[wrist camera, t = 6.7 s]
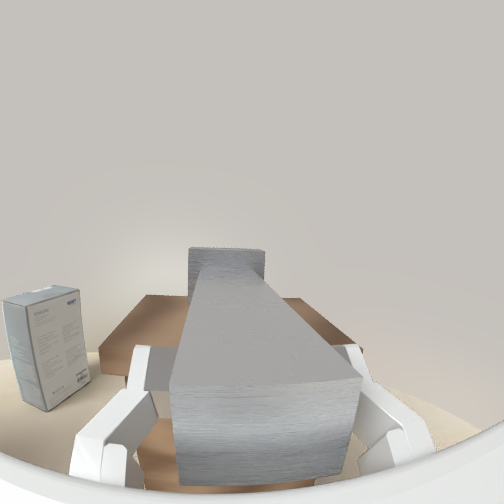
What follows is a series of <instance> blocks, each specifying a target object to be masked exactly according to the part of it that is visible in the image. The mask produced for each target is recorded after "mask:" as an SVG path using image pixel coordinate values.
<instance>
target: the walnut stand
mask: <svg viewBox="0 0 504 504" xmlns="http://www.w3.org/2000/svg"><path fill="white" fill-rule="evenodd" d="M282 299H283V300H284V301H285V302H286V303H287V304H288V305H289V306H290V307H291V308H292V309H293V310H294V311H295V312H296V313H297V314H298V315H299V316H301V317H302V318H303V319H304V320H305V321H306V322H307V323H308V324H309V325H310V326H311V327H312V328H313V329H314V330H315V331H316V332H317V333H318V334H319V335H320V336H321V337H322V338H323V339H324V340H325V341H326V342H327V343H328V344H329V345H346V344H356V343H355V342H354V341H352V340H351V339H350V338H349V337H348V336H346V335H345V334H344V333H343V332H341V331H340V330H339V329H338V328H336V327H335V326H334V325H333V324H331V323H330V322H329V321H328V320H326V319H325V318H324V317H322V316H321V315H320V314H319V313H318V312H316V311H315V310H314V309H313V308H311V307H310V306H309V305H308V304H307V303H305V302H304V301H303V300H302V299H300V298H282ZM189 307H190V304H188V296H164V295H146V296H145V297H144V298H143V299H142V300H141V301H140V302H139V303H138V305H137V306H136V307H135V308H134V309H133V310H132V311H131V312H130V313H129V314H128V315H127V317H126V318H125V319H124V320H123V321H122V322H121V323H120V324H119V325H118V326H117V327H116V329H115V330H114V331H113V332H112V333H111V334H110V335H109V336H108V338H107V339H106V340H105V341H104V342H103V343H102V344H101V345H100V347H99V357H100V364H101V372H102V374H110V375H119V376H125V383H126V388H127V382H128V376H129V371H130V366H131V360H132V355H133V350H134V348H135V346H136V345H148V346H159V347H173V348H179V344H180V340H181V336H182V333H183V329H184V325H185V322H186V318H187V314H188V311H189ZM359 347H360V346H359ZM360 350H361V352H362V353H363V349H362V348H361V347H360ZM158 419H159V420H158V421H157V423H156V424H155V425H154V427H153V428H152V429H151V431H150V432H149V434H148V435H147V436H146V438H145V439H144V440H143V442H142V443H141V444H140V446H139V447H138V448H137V454H138V458H139V463H140V467H141V468H142V470H143V471H144V484H145V488H146V490H153V491H163V492H176V493H196V494H236V493H256V492H269V491H279V490H288V489H296V488H303V487H310V486H313V485H314V481H315V479H308V480H301V481H293V482H285V483H275V484H263V485H247V486H187V485H180V483H179V476H178V469H177V461H176V453H175V445H174V436H173V426H172V419H166V418H158Z"/></svg>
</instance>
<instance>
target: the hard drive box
mask: <svg viewBox="0 0 504 504" xmlns="http://www.w3.org/2000/svg"><path fill="white" fill-rule="evenodd" d="M1 301H2V309H3V315H4V322H5V329H6V334H7V339H8V345H9V350H10V354H11V359H12V363H13V367H14V371H15V375H16V379H17V383H18V386H19V390H20V393H21V397H22V400H23V401H25V402H27V403H29V404H31V405H33V406H35V407H37V408H39V409H41V410H43V411H45V412H48V411H49V410H51V409H52V408H54V407H55V406H57V405H58V404H60V403H61V402H62V401H63V400H65V399H66V398H67V397H69V396H70V395H72V394H73V393H74V392H76V391H77V390H79V389H80V388H82V387H83V386H84V385H85V384H87V383H88V382H90V381H91V378H90V373H89V367H88V361H87V355H86V349H85V341H84V334H83V325H82V317H81V305H80V291H79V289H75V288H69V287H62V286H56V285H53V286H50V287H45V288H42V289H39V290H35V291H31V292H27V293H24V294H21V295H17V296H13V297H10V298H6V299H3V300H1Z"/></svg>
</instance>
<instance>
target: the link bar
mask: <svg viewBox="0 0 504 504" xmlns="http://www.w3.org/2000/svg"><path fill="white" fill-rule="evenodd" d="M264 266H265V251H263V250H260V249H238V248H237V249H236V248H205V247H191V248H189V257H188V304H190V307H189V311H188V314H187V318H186V322H185V325H184V329H183V333H182V336H181V340H180V344H179V348H178V351H177V355H176V359H175V363H174V367H173V371H172V374H171V378H170V382H169V391H170V404H171V416H172V426H173V436H174V445H175V453H176V461H177V469H178V476H179V483H180V485H187V486H247V485H263V484H275V483H285V482H293V481H301V480H308V479H315V478H321V477H326V476H332V475H337V474H340V473H341V470H342V466H343V463H344V459H345V456H346V452H347V448H348V444H349V440H350V436H351V432H352V428H353V424H354V420H355V415H356V411H357V406H358V401H359V396H360V391H361V386H362V381H363V376H362V375H361V374H360V373H359V372H357V371H356V370H355V369H354V368H353V367H352V366H351V365H350V364H349V363H348V362H347V361H346V360H345V359H344V358H343V357H342V356H341V355H340V354H339V353H338V352H337V351H336V350H335V349H334V348H333V347H331V346H330V345H329V344H328V343H327V342H326V341H325V340H324V339H323V338H322V337H321V336H320V335H319V334H318V333H317V332H316V331H315V330H314V329H313V328H312V327H311V326H310V325H309V324H308V323H307V322H306V321H305V320H304V319H303V318H302V317H301V316H299V315H298V314H297V313H296V312H295V311H294V310H293V309H292V308H291V307H290V306H289V305H288V304H287V303H286V302H285V301H284V300H283V299H282V298H281V297H280V296H279V295H278V294H277V293H276V292H275V291H274V290H273V289H272V288H271V287H270V286H269V285H268V284H267V283H266V282H265V281H264Z"/></svg>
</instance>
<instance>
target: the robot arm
mask: <svg viewBox="0 0 504 504" xmlns="http://www.w3.org/2000/svg"><path fill="white" fill-rule="evenodd" d="M330 346H331V347H333V348H334V349H335V350H336V351H337V352H338V353H339V354H340V355H341V356H342V357H343V358H344V359H345V360H346V361H347V362H348V363H349V364H350V365H351V366H352V367H353V368H354V369H355V370H356V371H357V372H359V373H360V374H361V375H362V376H363V381H362V386H361V391H360V396H359V401H358V406H357V411H356V415H355V420H354V424H353V428H352V432H353V433H354V434H355V435H356V436H357V437H358V438H359V439H360V440H361V441H362V442H363V443H364V444H365V445H366V446H367V447H368V450H367V451H366V452H365V453H363V454H362V455H361V456H360V457H359V458H358V460H357V462H358V466H359V470H360V474H361V476H360V477H356V478H352V479H347V480H343V481H338V482H333V483H328V484H322V485H316V486H310V487H303V488H296V489H288V490H279V491H269V492H256V493H236V494H196V493H176V492H163V491H153V490H144V471H143V470H142V468H141V467H140V466H139V464H138V463H137V462H136V461H135V459H134V458H133V457H132V455H133V454H134V452H135V451H136V450H137V448H138V447H139V446H140V444H141V443H142V442H143V440H144V439H145V438H146V436H147V435H148V434H149V432H150V431H151V429H152V428H153V427H154V425H155V424H156V423H157V421H158V420H159V419H158V418H166V419H172V416H171V404H170V391H169V382H170V378H171V374H172V371H173V367H174V363H175V359H176V355H177V351H178V348H173V347H159V346H148V345H136V346H135V348H134V350H133V355H132V360H131V366H130V371H129V376H128V382H127V388H126V389H121V390H120V391H119V392H118V393H117V394H116V395H115V396H114V397H113V398H112V399H111V400H110V401H109V402H108V403H107V404H106V405H105V406H104V407H103V408H102V409H101V410H100V411H99V412H98V413H97V414H96V415H95V416H94V417H93V418H92V419H91V420H90V421H89V422H88V423H87V424H86V425H85V426H84V427H83V428H82V429H81V430H80V431H79V432H78V433H77V435H76V436H75V441H74V447H73V452H72V458H71V464H70V470H69V475H67V474H63V473H59V472H56V471H53V470H49V469H46V468H43V467H40V466H37V465H34V464H31V463H28V462H25V461H22V460H20V459H17V458H14V457H12V456H9V455H7V454H4V453H2V452H0V504H504V420H503V421H501V422H499V423H497V424H496V425H494V426H492V427H490V428H488V429H486V430H484V431H482V432H480V433H478V434H476V435H474V436H472V437H470V438H468V439H466V440H464V441H461V442H459V443H457V444H455V445H452V446H450V447H448V448H445V449H443V450H440V451H438V452H436V449H435V446H434V444H433V441H432V438H431V436H430V433H429V430H428V428H427V425H426V423H425V420H424V419H422V418H421V417H420V416H419V415H417V414H416V413H415V412H414V411H412V410H411V409H410V408H409V407H407V406H406V405H405V404H404V403H402V402H401V401H400V400H399V399H397V398H396V397H395V396H394V395H392V394H391V393H390V392H389V391H387V390H386V389H385V388H384V387H383V386H381V385H380V384H379V383H378V382H374V383H373V380H372V378H371V375H370V372H369V370H368V367H367V365H366V362H365V360H364V357H363V355H362V352H361V350H360V347H359V346H358V345H357V344H346V345H330Z"/></svg>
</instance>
